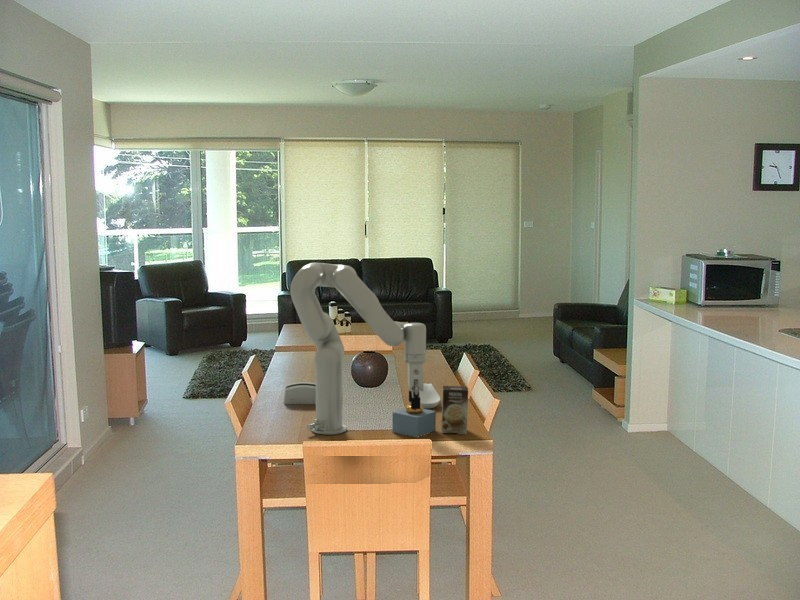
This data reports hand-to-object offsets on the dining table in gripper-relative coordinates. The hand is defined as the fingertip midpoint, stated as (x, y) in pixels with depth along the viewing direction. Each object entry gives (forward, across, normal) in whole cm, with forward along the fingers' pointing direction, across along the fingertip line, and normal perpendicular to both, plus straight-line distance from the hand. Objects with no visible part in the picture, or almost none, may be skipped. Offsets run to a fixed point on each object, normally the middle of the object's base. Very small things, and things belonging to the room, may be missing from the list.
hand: (414, 405), depth 275 cm
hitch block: (+10, 0, 0) cm, 10 cm away
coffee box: (+10, -1, -14) cm, 17 cm away
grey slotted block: (+10, +41, +41) cm, 59 cm away
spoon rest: (+10, +39, -8) cm, 42 cm away
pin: (+9, 0, 0) cm, 9 cm away
